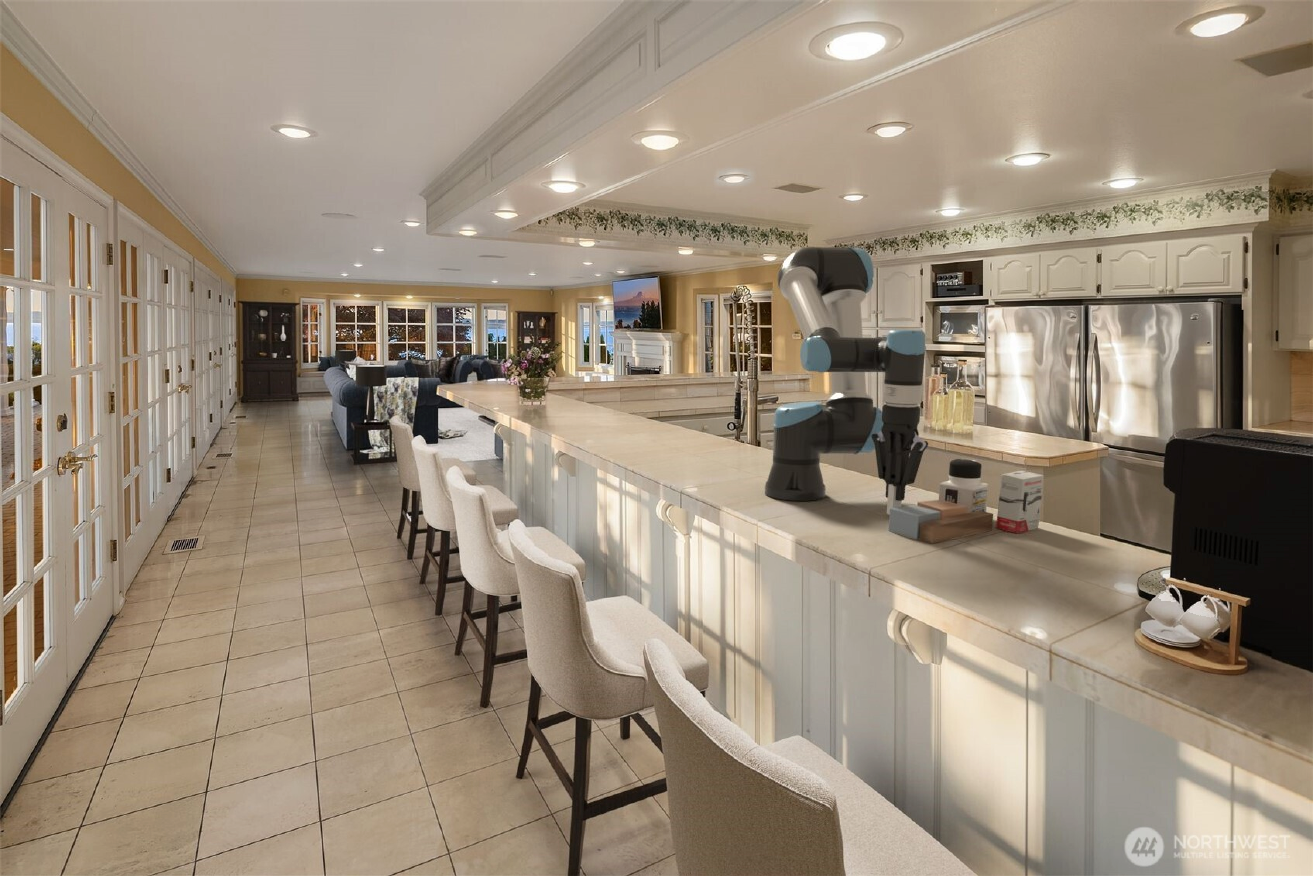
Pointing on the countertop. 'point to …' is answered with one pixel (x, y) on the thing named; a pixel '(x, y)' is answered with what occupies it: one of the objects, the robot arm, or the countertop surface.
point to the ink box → (1019, 501)
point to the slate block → (910, 519)
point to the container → (965, 485)
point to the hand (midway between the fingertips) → (893, 513)
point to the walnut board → (955, 526)
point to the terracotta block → (944, 508)
